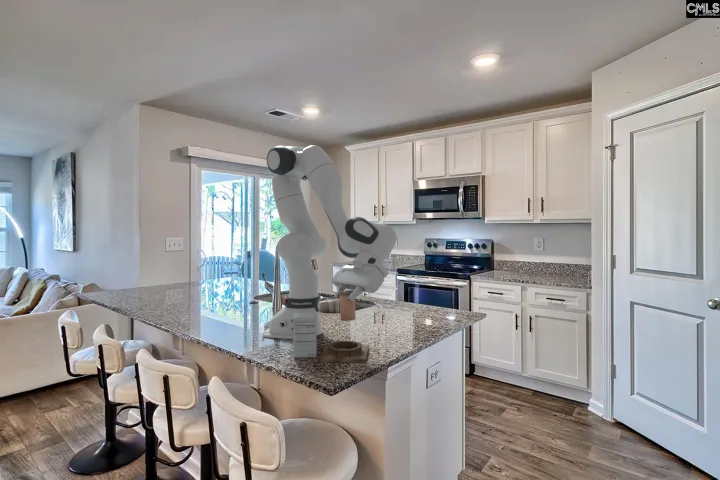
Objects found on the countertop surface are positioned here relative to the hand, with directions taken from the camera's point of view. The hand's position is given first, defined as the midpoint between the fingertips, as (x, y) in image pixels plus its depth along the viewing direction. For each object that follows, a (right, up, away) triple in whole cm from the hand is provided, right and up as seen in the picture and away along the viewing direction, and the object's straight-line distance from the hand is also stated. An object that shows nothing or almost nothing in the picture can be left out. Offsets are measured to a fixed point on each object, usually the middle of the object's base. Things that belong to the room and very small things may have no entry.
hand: (343, 298), depth 123 cm
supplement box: (-12, -18, +2) cm, 22 cm away
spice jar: (+2, -7, +1) cm, 7 cm away
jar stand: (+1, -18, +1) cm, 18 cm away
